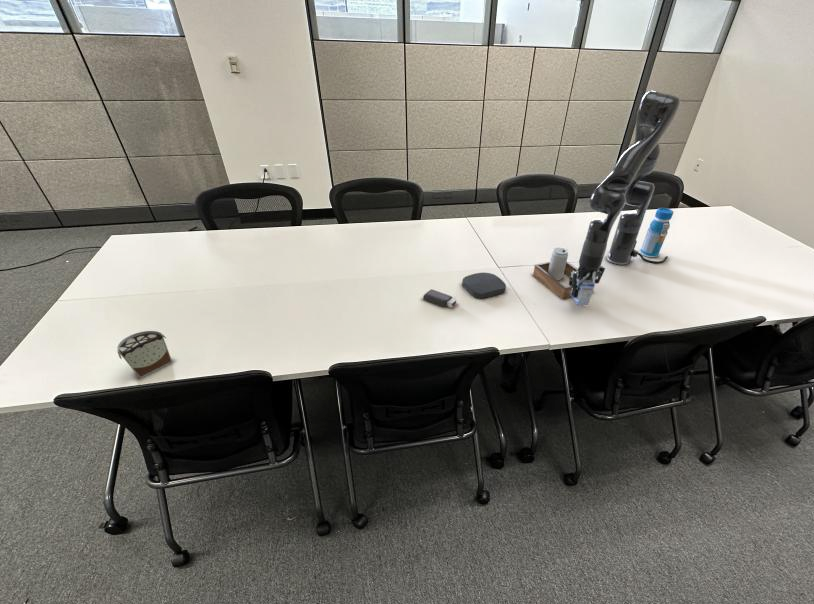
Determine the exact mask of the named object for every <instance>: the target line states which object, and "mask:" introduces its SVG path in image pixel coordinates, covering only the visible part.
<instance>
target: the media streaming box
mask: <svg viewBox="0 0 814 604" xmlns="http://www.w3.org/2000/svg"><path fill="white" fill-rule="evenodd" d="M461 286H462V287H463V288H464V289H465V290H466V291H467V292H468V293H469V294H470V295H472V296H473V297H475V298H477V299H478V298H479V299H485V298H490V297H494V296H498V295H502V294H504V293H505V292H506V288H507V285H506V283H505V281H503V279H501V278H500V277H499V276H497V275H496V274H494V273H490V272H477V273H476V272H475V273H472V274H469V275H467V276H464V277H463V278H462V282H461Z"/></svg>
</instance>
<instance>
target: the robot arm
mask: <svg viewBox="0 0 814 604" xmlns="http://www.w3.org/2000/svg"><path fill="white" fill-rule="evenodd" d="M680 107H681V98H680V97H679V96H677V95H673V94H670V93H665V92H661V91H656V90H651V91H648V92H646V93H645V94H644V95H643V97H642V99H641V101H640V103H639V106H638V109H637V113H636V120H635V134H634V135H635V136H634V141H633V142H634V143H633V145H632V146H631V147H629V148H628V149H627V150H625V151H624V152H623V153H622V154H621V155H620V157H619V159H618V160H617V162H616V163H615V165H614V167H613V169H612V170H611V172H610V174H609V175H608V176H607V177H606V178H605V179H604V180H603V181H602V182H601V183H600V184H599V185H598V186H597V187H596V188H595V189H594V190H593V192H592V193H591V194H590V198H589V208H590V209H591V210H592V211H594V212H597V213H601V214H605V215H606V218H593V219H591V220H590V223H589V225H588V229H587V232H586V236H585V239H584V242H583V244H582V248H581V252H580V256H579V260H578V268H577V271H575V272H573V271H571V272H570V277H569V278H568V286H571V287H572V288H573V289H572V293H571V295H572V297H571V298H573V297H574V298H577V295H578V292H579V288H580V285H581V284H582V282H585V280H587V279H591V280H592V282H593V283H594V286H595V285H596V284H599V283H600V281H601V279H602V277H603V275H604V273H605V271H606V268H605V267H604V266H602V263H603V260H604V256H605V254H606V251H607V246H608V241H609V237H610V234H611V232H612V228H613V226H614V224H615V222H616V220H617V219H618V217H619V220H618V223H617V226H616V229H615V233H614V235H613V238H612V242H611V245H610V248H609V250H608V251H607V257H606V260H607V261H608V262H610V263H612V264H615V265H620V266H623V265H627V264H629V263H630V262H631V259H632V258H637V257H638V256H639V257H640V258H641V260H642V261H643V262H646V263H650V264H662V263H665V262H666V261H667V259H668V258H669V256H668V255H666V256H665V257H664V258H663V260H658V261H657V260H651V259H650V260H649V259H647V258H644V255H642V254H641V253H640V252H639V251H638V250H636V249H635V248H636V245H637V243H638V241H637V238H638V235H639V232H640V230H641V227H642V224H643V220H644V218H645V216H646V212H647V209H648V208H649V205H650V203H651V200H652V198H653V195H654V192H655V188H656V187H655V184H654V183H653V182H648V181H642V180H643V179H644V178H645V177H647V176H649V175H650V174H651V173H652V172H653V171H654V170H655V169H656V167H657V165H658V162H659V158H660V155H661V144H660V141H661V140H662V138H663V137H664V136H665V134H666V133H667V131H668V130H669V129H670V127H671V126H672V124H673V122H674V121H675V119H676V117H677V115H678V113H679V110H680ZM619 190H623V192H622V191H619ZM626 205H628V206H633V207H637V208H636V209H634V210H627V211H624V212H622V211H623V210H624V207H625V206H626ZM621 212H622V213H621ZM579 278H580V279H582V280H580V279H579ZM578 282H579V283H578ZM577 283H578V285H576V284H577Z"/></svg>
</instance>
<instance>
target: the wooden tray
mask: <svg viewBox="0 0 814 604" xmlns="http://www.w3.org/2000/svg"><path fill="white" fill-rule="evenodd" d="M549 265H550V261H547V262H541V263H536V264H534V265H533V266H534V267H533V273H532V276H533V277H534V278H535V279H537V280H539V282H541V284H543V285H544V286H546V287H547V288H548V289H549V290H551V291H552V292H553V293H554V294H556V295H557V296H558V297H559V298H561V299H562V300H564V299H568V298H573V297H572V296H571V291H572V287H571V286H569V285H567V286H565V284H563V283H561V282H560V280H558V281H557V280H556V279H555V278H554V277H552V276H551V275H550V274H548V270H549ZM577 269H578V268H577V267H575V266H574V265H573V264H571V263H570V262H569V261H567V262H566V266H565V270H564V274H565V275H566V276H568V277H569V278H570V272H571V271H573V272H575V271H577Z"/></svg>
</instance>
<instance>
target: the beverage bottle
mask: <svg viewBox="0 0 814 604" xmlns="http://www.w3.org/2000/svg"><path fill="white" fill-rule="evenodd" d="M656 209H657V210H656V211H655V214H654V217H655V218H654V219H652V220H651V222H650V223H649V227H648V228H647V230H646V234H645V237H644V240H643V241H642V245H641V248H640V251H639V253H640V254H641V255H642V256H643V257H644V256H645V257H647V258H656V257H658V256H659V255H660V251H661V249H662V247H663V245H664V242H665V240H666V237H667V236H668V233H669V232H668V230H669V229H670V227H671V225H670V221H671V220H672V218H673V215H674V210H672V209H671V208H667V207H658V208H656Z"/></svg>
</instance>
